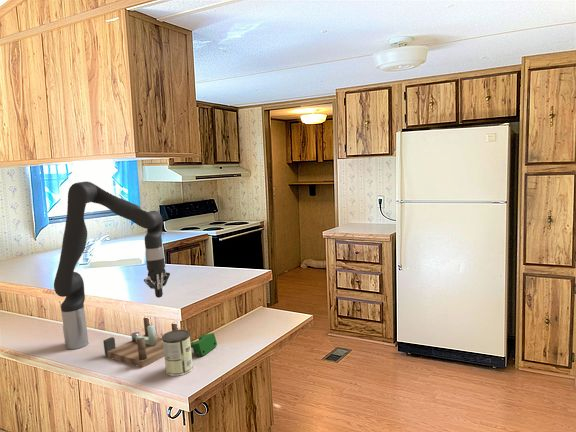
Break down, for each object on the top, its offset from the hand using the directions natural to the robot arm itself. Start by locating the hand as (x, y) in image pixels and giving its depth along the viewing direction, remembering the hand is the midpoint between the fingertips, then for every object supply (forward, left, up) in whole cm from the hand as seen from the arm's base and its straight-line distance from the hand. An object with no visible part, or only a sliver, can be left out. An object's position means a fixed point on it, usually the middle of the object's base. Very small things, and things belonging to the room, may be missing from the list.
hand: (159, 296), depth 193 cm
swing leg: (-6, -6, -19) cm, 21 cm away
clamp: (+20, +3, -22) cm, 30 cm away
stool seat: (-2, -8, -22) cm, 23 cm away
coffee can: (+24, -14, -22) cm, 36 cm away
